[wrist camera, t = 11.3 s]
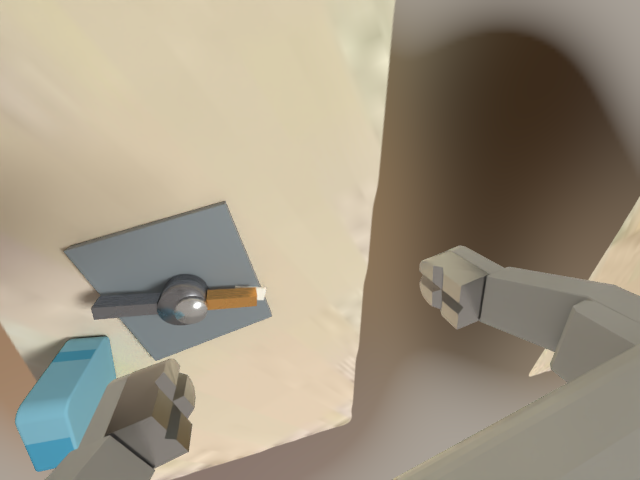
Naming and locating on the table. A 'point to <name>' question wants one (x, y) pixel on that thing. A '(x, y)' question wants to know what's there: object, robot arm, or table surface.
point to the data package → (65, 400)
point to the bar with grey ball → (175, 301)
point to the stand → (174, 273)
